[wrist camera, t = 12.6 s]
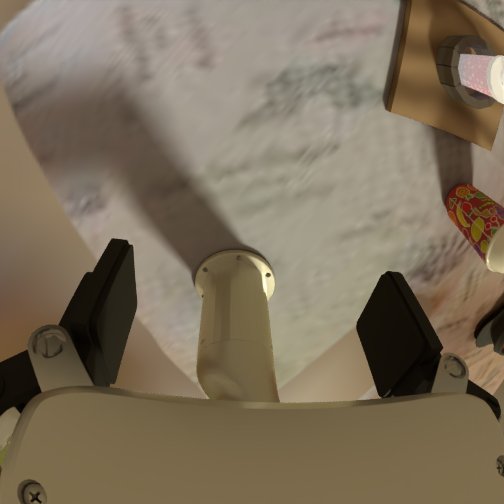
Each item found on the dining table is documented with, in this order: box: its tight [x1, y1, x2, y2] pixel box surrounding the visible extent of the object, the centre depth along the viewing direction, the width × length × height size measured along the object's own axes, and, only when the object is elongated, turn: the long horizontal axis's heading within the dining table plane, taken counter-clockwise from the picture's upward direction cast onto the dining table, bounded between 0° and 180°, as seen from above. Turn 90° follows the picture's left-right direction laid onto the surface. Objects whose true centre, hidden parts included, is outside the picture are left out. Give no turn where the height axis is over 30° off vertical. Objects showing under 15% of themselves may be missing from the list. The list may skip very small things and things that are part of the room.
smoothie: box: [446, 184, 504, 274], centre depth 34 cm, size 8×8×20 cm
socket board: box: [386, 0, 504, 151], centre depth 28 cm, size 20×20×5 cm
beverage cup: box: [458, 54, 504, 104], centre depth 23 cm, size 6×6×14 cm
